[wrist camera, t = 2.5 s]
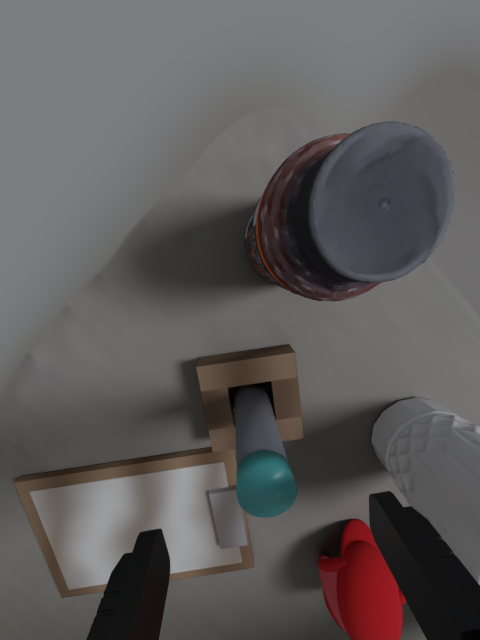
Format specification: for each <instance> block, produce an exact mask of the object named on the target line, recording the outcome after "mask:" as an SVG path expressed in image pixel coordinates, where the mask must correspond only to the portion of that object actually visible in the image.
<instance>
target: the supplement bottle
mask: <svg viewBox="0 0 480 640" xmlns="http://www.w3.org/2000/svg"><path fill="white" fill-rule="evenodd" d="M455 190H456V188H455V181H454V172H453V170H452V166H451V162H450V160H449V158H448V156H447V155H446V152H445V151H444V149H443V147H442V146H441V145H440V144H438V143H437V142H436V141H435V139H434V138H433V137H432V136H431V135H430V134H428V133H427V132H425V131H424V130H423V129H421V128H419V127H416V126H412V125H410V124H406V123H400V122H382V123H376V124H372V125H369V126H366V127H363V128H361V129H359V130H357V131H355V132H353V133H352V134H347V133H343V134H334V135H330V136H326V137H322V138H319V139H316V140H314V141H312V142H310V143H308V144H306V145H305V146H303V147H301V148H300V149H298V150H297V151H295V152H294V153H293V154H292V155H291V156H289V157H288V158H287V159H286V160H285V161H284V162H283V163H282V165H281V166H280V167H279V168H278V170H277V171H276V172H275V174H274V175H273V177H272V178H271V180H270V182H269V183H268V185H267V187H266V189H265V191H264V193H263V195H262V197H261V198H260V200H259V202H258V204H257V206H256V208H255V210H254V212H253V214H252V216H251V218H250V220H249V222H248V225H247V229H246V234H245V249H246V253H247V257H248V260H249V262H250V263H251V265H252V267H253V269H254V270H255V272H256V273H258V274H259V275H260V276H261V277H262V278H263V279H265V280H267V281H269V282H271V283H272V284H275V285H277V286H280V287H282V288H284V289H286V290H289V291H291V292H292V293H294V294H298V295H300V296H303V297H306V298H310V299H313V300H318V301H341V300H345V299H350V298H354V297H356V296H358V295H361V294H363V293H365V292H367V291H370V290H371V289H372V288H374V287H376V286H377V285H379V284H380V283H382V282H386V281H391V280H395V279H397V278H400V277H402V276H404V275H406V274H408V273H409V272H411V271H412V270H414V269H415V268H417V267H418V266H419V265H420V264H421V263H424V262H425V261H426V260H427V259H428V257H429V256H430V255H431V254H432V253H433V252H434V251H435V249H436V248H437V247H438V245H439V244H440V242H441V241H442V240H443V237H444V234H445V232H446V230H447V228H448V226H449V224H450V221H451V217H452V214H453V210H454V206H455Z"/></svg>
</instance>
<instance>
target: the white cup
mask: <svg viewBox="0 0 480 640" xmlns="http://www.w3.org/2000/svg"><path fill="white" fill-rule="evenodd" d="M371 443H372V445H373V448H374V450H375V453H376V455H377V457H378V458H379V460H380V461H381V462H382V464H383V465H384V467H385V468H386V469H387V471H388V472H389V474H390V475H391V477H392V479H393V481H394V482H395V484H396V486H397V487H398V489H399V490H400V492H401V493H402V494H403V496H404V497H405V499H406V500H407V502H408V504H409V505H410V506H412V507H413V508H414V509H415V510H417V511H418V512H419V513H420V514H422V515H423V516H424V517H425V518H427V519H428V520H429V522H430V523H431V524H432V525H433V527H434V528H435V529H436V530H437V532H438V533H439V534H440V536H441V537H442V539H443V540H444V541H445V542H446V543H447V544H448V546H449V547H450V548H451V550H452V551H453V553H454V555H455V556H457V557H458V558H459V560H460V561H461V562H462V563H463V565H464V566H465V567H466V569H467V570H468V571H469V572H470V574H471V575H472V576H473V577H474V579H475V580H476V581H477V583H478V584H479V585H480V427H479V426H477V425H475V424H473V423H471V422H469V421H467V420H465V419H463V418H461V417H459V416H457V415H455V414H454V413H452V412H451V411H449V410H447V409H446V408H444V407H442V406H441V405H439V404H438V403H436V402H434V401H431V400H426V399H422V398H417V397H415V398H411V399H406V400H401V401H398V402H396V403H395V404H393V405H392V406H390V407H389V408H387V409H386V410H384V411H383V412H382V414H381V415H380V416H379V418H378V419H377V421H376V422H375V424H374V425H373V431H372V438H371Z"/></svg>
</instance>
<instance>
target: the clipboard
mask: <svg viewBox="0 0 480 640" xmlns="http://www.w3.org/2000/svg"><path fill="white" fill-rule="evenodd" d="M236 471H237V461H236V454H235V449H231V450H224V451H217V452H213V451H212V447H209V448H203V449H196V450H190V451H183V452H177V453H170V454H164V455H157V456H150V457H144V458H137V459H131V460H124V461H118V462H111V463H105V464H98V465H92V466H85V467H79V468H72V469H65V470H59V471H52V472H46V473H39V474H33V475H26V476H20V477H19V478H18V479H17V480H16V481H15V482H14V484H15V486H16V489H17V491H18V494H19V496H20V498H21V501H22V503H23V506H24V508H25V510H26V513H27V515H28V518H29V520H30V523H31V525H32V527H33V530H34V532H35V535H36V537H37V539H38V542H39V544H40V547H41V549H42V551H43V554H44V556H45V559H46V561H47V563H48V566H49V568H50V571H51V573H52V575H53V578H54V580H55V583H56V585H57V587H58V590H59V592H60V595H61V597H62V598H65V597H71V596H78V595H84V594H90V593H97V592H103V591H105V589H106V586H107V583H108V580H109V578H110V575H111V572H112V571H113V569H114V568H115V566H116V565H117V563H118V562H119V560H120V559H121V557H122V556H123V554H125V553H131V552H133V549H134V546H135V543H136V539H137V537H138V535H139V533H140V532H142V531H148V530H154V529H162V531H163V535H164V538H165V542H166V546H167V549H168V553H169V557H170V579H169V581H173V580H179V579H185V578H192V577H198V576H204V575H211V574H217V573H223V572H229V571H236V570H242V569H248V568H254V559H253V554H252V548H251V542H250V536H249V530H248V524H247V518H246V513H245V510H243V509H242V507H241V506H240V505H239V503H238V500H237V492H236Z"/></svg>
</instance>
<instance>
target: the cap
mask: <svg viewBox="0 0 480 640" xmlns="http://www.w3.org/2000/svg"><path fill="white" fill-rule="evenodd" d="M318 566H319V575H320V580H321V584H322V588H323V594H324V599H325V602H326V605H327V608H328V610H329V612H330V614H331V616H332V617H333V619H334V620H335V621H336V623H337V624H338V625H339V626H340V627H341V628H342V629H343V630H344V631H345V632H346V633H347V634H348V635H349V637H350V639H351V640H400V637H401V632H402V624H403V612H402V605H404V604H405V603H406V599H405V597H404V595H403V594H402V592H401V590H400V589H399V588H398V586H397V582H396V580H395V579H394V577H393V575H392V573H391V571H390V569H389V567H388V565H387V564H386V562H385V560H384V558H383V556H382V554H381V552H380V551H379V549H378V547H377V545H376V543H375V540H374V538H373V535H372V532H371V530H370V528H369V527H368V526H367V525H366V524H365V523H364V522H363V521H361V520H359V519H352V520H350V521H349V522H348V523H347V524H346V526H345V528H344V531H343V534H342V540H341V556H340V557H335V558H328V557H327V556H325V555H324V554H320V555H319V560H318Z"/></svg>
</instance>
